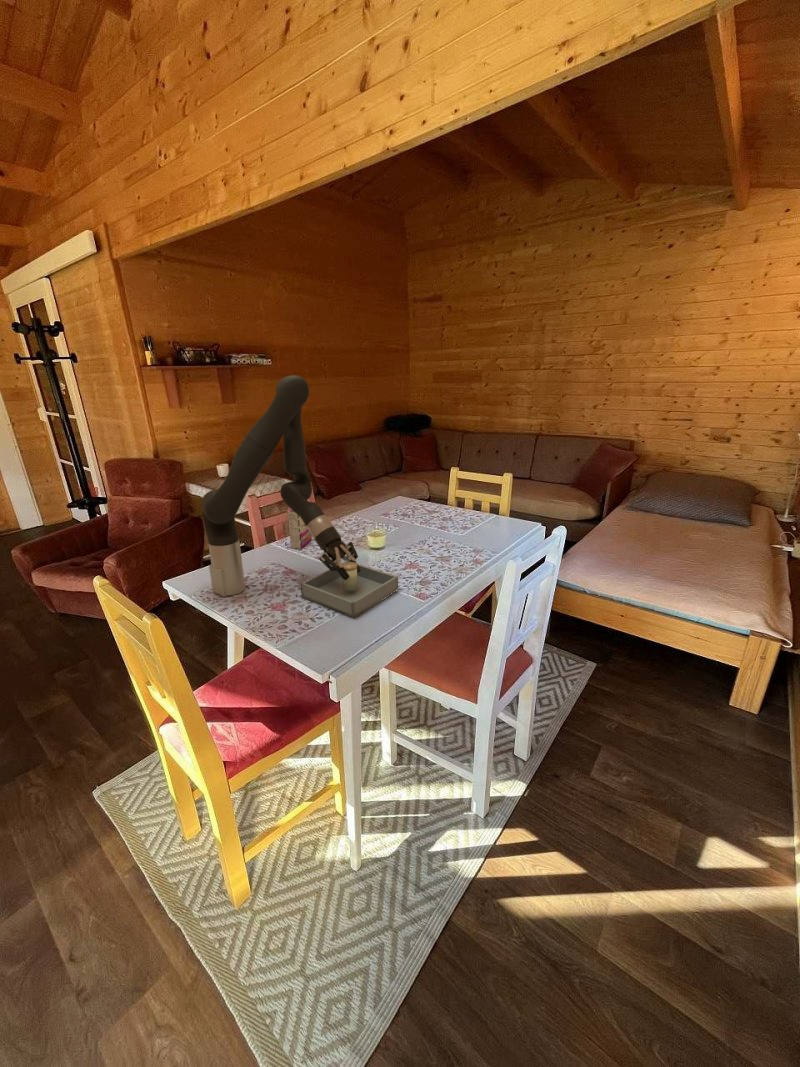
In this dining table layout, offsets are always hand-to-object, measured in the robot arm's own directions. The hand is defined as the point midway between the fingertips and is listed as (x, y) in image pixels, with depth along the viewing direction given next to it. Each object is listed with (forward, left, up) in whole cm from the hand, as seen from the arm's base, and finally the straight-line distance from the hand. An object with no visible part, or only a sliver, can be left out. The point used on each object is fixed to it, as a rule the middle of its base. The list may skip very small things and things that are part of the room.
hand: (353, 575), depth 142 cm
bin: (0, +1, -7) cm, 7 cm away
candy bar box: (+21, +47, -7) cm, 52 cm away
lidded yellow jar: (0, +1, -5) cm, 5 cm away
